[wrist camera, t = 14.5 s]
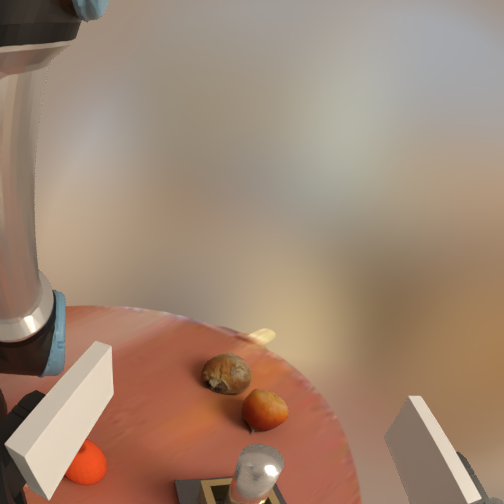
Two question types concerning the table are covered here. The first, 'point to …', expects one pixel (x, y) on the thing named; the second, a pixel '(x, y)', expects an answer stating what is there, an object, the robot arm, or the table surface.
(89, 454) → the clementine
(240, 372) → the bread roll
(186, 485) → the gold square holder
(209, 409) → the table surface
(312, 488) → the table surface
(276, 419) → the fruit
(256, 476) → the silver metal tall cylinder
